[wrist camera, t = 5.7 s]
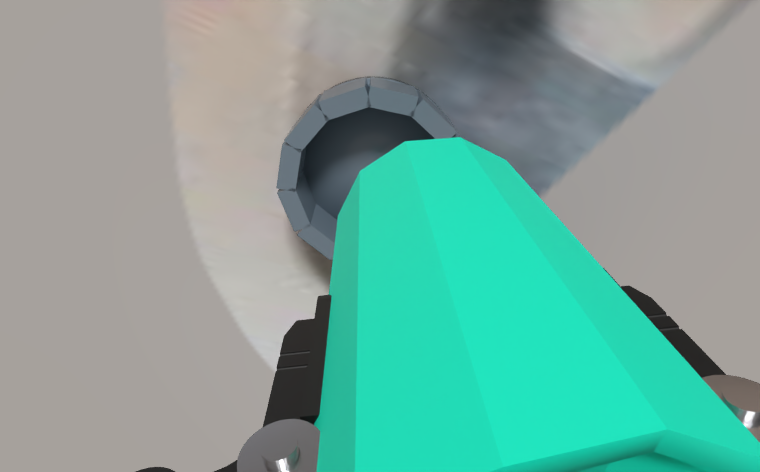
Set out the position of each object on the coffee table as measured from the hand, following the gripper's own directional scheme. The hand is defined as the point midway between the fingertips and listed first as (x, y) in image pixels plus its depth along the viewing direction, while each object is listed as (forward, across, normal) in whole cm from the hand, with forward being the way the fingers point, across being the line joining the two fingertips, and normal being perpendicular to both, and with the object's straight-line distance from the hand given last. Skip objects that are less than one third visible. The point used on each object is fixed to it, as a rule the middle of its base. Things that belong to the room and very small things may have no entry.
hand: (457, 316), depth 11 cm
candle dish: (+19, +2, +2) cm, 19 cm away
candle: (+5, 0, 0) cm, 5 cm away
